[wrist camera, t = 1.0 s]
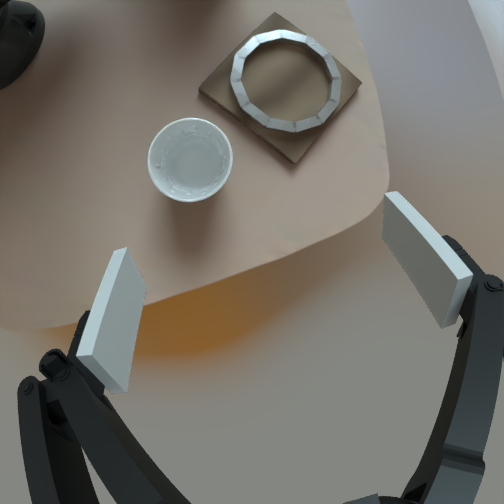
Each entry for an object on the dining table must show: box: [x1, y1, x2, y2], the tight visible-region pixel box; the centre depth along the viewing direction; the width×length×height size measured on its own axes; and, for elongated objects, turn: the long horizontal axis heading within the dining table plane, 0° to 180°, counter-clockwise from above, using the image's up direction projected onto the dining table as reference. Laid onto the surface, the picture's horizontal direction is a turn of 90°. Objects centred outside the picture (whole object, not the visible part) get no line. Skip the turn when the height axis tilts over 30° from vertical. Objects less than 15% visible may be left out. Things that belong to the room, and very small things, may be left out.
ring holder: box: [199, 12, 362, 164], centre depth 34 cm, size 15×15×3 cm
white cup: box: [148, 118, 233, 202], centre depth 32 cm, size 8×8×10 cm
